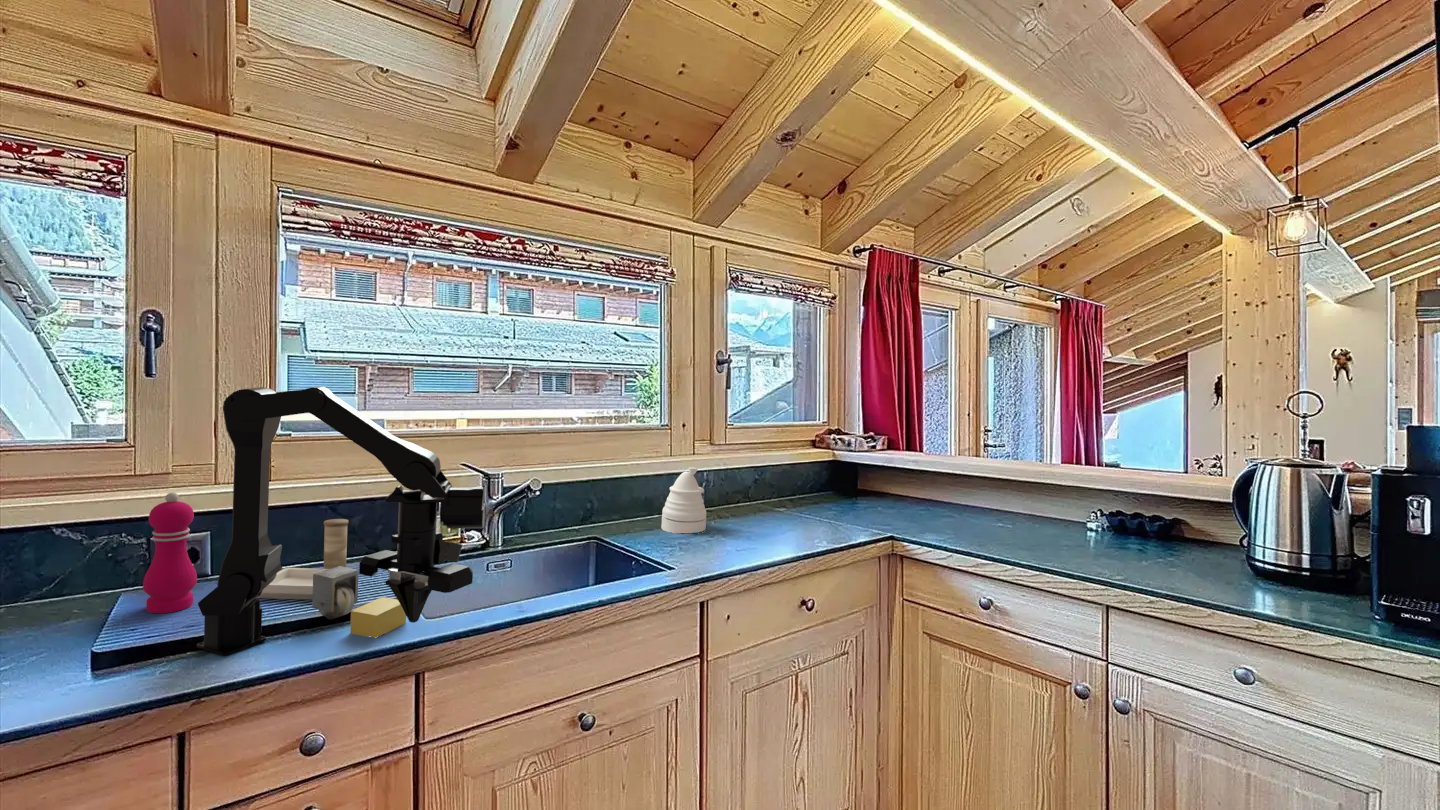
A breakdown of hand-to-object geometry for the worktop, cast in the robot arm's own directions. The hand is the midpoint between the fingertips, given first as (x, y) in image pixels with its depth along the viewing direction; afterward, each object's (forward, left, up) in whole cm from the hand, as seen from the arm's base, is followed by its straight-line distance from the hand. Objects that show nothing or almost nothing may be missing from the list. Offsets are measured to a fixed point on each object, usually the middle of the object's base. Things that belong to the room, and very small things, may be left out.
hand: (413, 621), depth 110 cm
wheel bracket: (0, +18, -2) cm, 18 cm away
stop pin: (+15, +36, -2) cm, 39 cm away
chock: (0, +8, -3) cm, 8 cm away
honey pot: (+92, -9, -3) cm, 92 cm away
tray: (+7, +33, -2) cm, 34 cm away
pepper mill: (-10, +44, -3) cm, 45 cm away
